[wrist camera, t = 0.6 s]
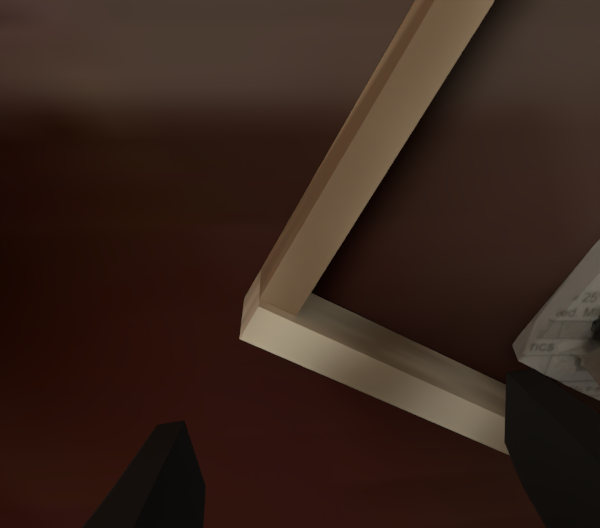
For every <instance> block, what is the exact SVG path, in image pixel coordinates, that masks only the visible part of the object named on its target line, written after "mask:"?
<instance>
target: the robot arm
mask: <svg viewBox="0 0 600 528" xmlns="http://www.w3.org/2000/svg"><path fill="white" fill-rule="evenodd" d="M504 443H505V445H506V448H507V450H508V452H509V455H510V457H511V460H512V462H513V464H514V467H515V469H516V471H517V474H518V476H519V478H520V480H521V483H522V485H523V487H524V489H525V491H526V492H527V494H528V496H529V498H530V500H531V501H532V503H533V505H534V507H535V508H536V510H537V512H538V514H539V516H540V517H541V519H542V521H543V523H544V524H545V526H546V528H600V414H599V413H597V412H596V411H594V410H593V409H591V408H590V407H588V406H587V405H586V404H584V403H583V402H581V401H580V400H578V399H577V398H576V397H574V396H573V395H571V394H570V393H568V392H567V391H566V390H564V389H563V388H561V387H560V386H558V385H557V384H556V383H554V382H553V381H551V380H550V379H549V378H547V377H546V376H544V375H543V374H541V373H540V372H538V371H537V370H535V369H527V370H521V371H514V372H507V373H506V399H505V438H504ZM204 505H205V483H204V480H203V477H202V474H201V471H200V467H199V464H198V461H197V458H196V455H195V452H194V449H193V446H192V443H191V440H190V437H189V434H188V431H187V427H186V424H185V421H180V422H173V423H166V424H159V425H157V426H156V428H155V429H154V430H153V432H152V433H151V434H150V436H149V437H148V439H147V440H146V441H145V443H144V444H143V446H142V447H141V449H140V450H139V452H138V453H137V454H136V456H135V457H134V459H133V460H132V462H131V463H130V464H129V466H128V467H127V469H126V470H125V471H124V473H123V474H122V476H121V477H120V478H119V480H118V481H117V483H116V484H115V485H114V487H113V488H112V489H111V491H110V492H109V493H108V495H107V496H106V497H105V499H104V500H103V502H102V503H101V504H100V506H99V507H98V508H97V510H96V511H95V512H94V513H93V515H92V516H91V517H90V518H89V520H88V521H87V522H86V523H85V525H84V526H83V527H82V528H203V520H204Z"/></svg>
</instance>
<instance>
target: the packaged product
mask: <svg viewBox="0 0 600 528" xmlns="http://www.w3.org/2000/svg"><path fill="white" fill-rule="evenodd" d="M512 346H513V349H514V351H515V354H516V356H517V359H518V361H519V362H521V363H524V364H525V365H527V366H529V367H531V368H533V369H535V370H537V371H538V372H540V373H542V374H544V375H546V376H549V377H551V378H553V379H556V380H558V381H559V382H561V383H563V384H564V385H566V386H569V387H571V388H573V389H575V390H577V391H579V392H581V393H584V394H586V395H588V396H591V397H593V398H595V399H597V400H599V401H600V239H599V241H598V242H597V243H596V244H595V245H594V246H593V247H592V248H591V250H590V251H589V252H588V253H587V254H586V256H585V257H584V258H583V259H582V260H581V261H580V263H579V264H578V265H577V266H576V267H575V269H574V270H573V271H572V272H571V273H570V275H569V276H568V277H567V278H566V279H565V281H564V282H563V283H562V284H561V285H560V287H559V288H558V289H557V290H556V291H555V293H554V294H553V295H552V296H551V297H550V298H549V300H548V301H547V302H546V303H545V304H544V306H543V307H542V308H541V309H540V310H539V312H538V313H537V314H536V315H535V316H534V318H533V319H532V320H531V321H530V322H529V324H528V325H527V326H526V327H525V328H524V330H523V331H522V332H521V333H520V335H519V336H518V337H517V339H516V340H515V342H514V343H513V344H512Z"/></svg>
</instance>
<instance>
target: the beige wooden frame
mask: <svg viewBox="0 0 600 528" xmlns="http://www.w3.org/2000/svg"><path fill="white" fill-rule="evenodd" d="M494 1H495V0H415V1H414V3H413V5H412V7H411V8H410V10H409V12H408V14H407V15H406V17H405V19H404V21H403V22H402V24H401V26H400V28H399V29H398V31H397V33H396V35H395V36H394V38H393V40H392V42H391V43H390V45H389V47H388V49H387V50H386V52H385V54H384V55H383V57H382V59H381V61H380V62H379V64H378V66H377V68H376V69H375V71H374V73H373V75H372V76H371V78H370V80H369V82H368V83H367V85H366V87H365V89H364V90H363V92H362V94H361V96H360V97H359V99H358V101H357V103H356V104H355V106H354V108H353V110H352V111H351V113H350V115H349V117H348V118H347V120H346V122H345V124H344V125H343V127H342V129H341V130H340V132H339V134H338V136H337V137H336V139H335V141H334V143H333V144H332V146H331V148H330V150H329V151H328V153H327V155H326V157H325V158H324V160H323V162H322V164H321V165H320V167H319V169H318V171H317V172H316V174H315V176H314V178H313V179H312V181H311V183H310V185H309V186H308V188H307V190H306V192H305V193H304V195H303V197H302V198H301V200H300V202H299V204H298V205H297V207H296V209H295V211H294V212H293V214H292V216H291V218H290V219H289V221H288V223H287V225H286V226H285V228H284V230H283V232H282V233H281V235H280V237H279V239H278V240H277V242H276V244H275V246H274V247H273V249H272V251H271V253H270V254H269V256H268V258H267V260H266V261H265V263H264V265H263V267H262V268H261V270H260V272H259V273H258V275H257V277H256V279H255V280H254V282H253V284H252V286H251V287H250V289H249V291H248V293H247V294H246V296H245V298H244V305H243V313H242V322H241V330H240V339H241V340H243V341H246V342H248V343H250V344H253V345H255V346H257V347H259V348H262V349H264V350H266V351H269V352H271V353H273V354H276V355H278V356H280V357H283V358H285V359H287V360H290V361H292V362H294V363H297V364H299V365H301V366H304V367H306V368H308V369H311V370H313V371H315V372H318V373H320V374H322V375H324V376H327V377H329V378H331V379H334V380H336V381H338V382H341V383H343V384H345V385H348V386H350V387H352V388H355V389H357V390H359V391H362V392H364V393H366V394H369V395H371V396H373V397H376V398H378V399H380V400H382V401H385V402H387V403H389V404H392V405H394V406H396V407H399V408H401V409H403V410H406V411H408V412H410V413H413V414H415V415H417V416H420V417H422V418H424V419H427V420H429V421H431V422H434V423H436V424H438V425H440V426H443V427H445V428H447V429H450V430H452V431H454V432H457V433H459V434H461V435H464V436H466V437H468V438H471V439H473V440H475V441H478V442H480V443H482V444H485V445H487V446H489V447H492V448H494V449H496V450H498V451H501V452H503V453H505V454H508V455H509V452H508V450H507V448H506V445H505V443H504V438H505V399H506V385H505V384H503V383H501V382H499V381H497V380H495V379H493V378H490V377H488V376H486V375H484V374H482V373H480V372H478V371H476V370H473V369H471V368H469V367H467V366H465V365H463V364H461V363H459V362H457V361H454V360H452V359H450V358H448V357H446V356H444V355H442V354H440V353H438V352H435V351H433V350H431V349H429V348H427V347H425V346H423V345H421V344H418V343H416V342H414V341H412V340H410V339H408V338H406V337H404V336H402V335H399V334H397V333H395V332H393V331H391V330H389V329H387V328H385V327H382V326H380V325H378V324H376V323H374V322H372V321H370V320H368V319H366V318H363V317H361V316H359V315H357V314H355V313H353V312H351V311H349V310H346V309H344V308H342V307H340V306H338V305H336V304H334V303H332V302H330V301H327V300H325V299H323V298H321V297H319V296H317V295H315V294H313V293H311V292H312V290H313V289H314V287H315V285H316V284H317V282H318V281H319V279H320V277H321V276H322V274H323V273H324V271H325V269H326V268H327V266H328V265H329V263H330V261H331V260H332V258H333V257H334V255H335V254H336V252H337V250H338V249H339V247H340V246H341V244H342V242H343V241H344V239H345V238H346V236H347V234H348V233H349V231H350V230H351V228H352V227H353V225H354V223H355V222H356V220H357V219H358V217H359V215H360V214H361V212H362V211H363V209H364V207H365V206H366V204H367V203H368V201H369V200H370V198H371V196H372V195H373V193H374V192H375V190H376V188H377V187H378V185H379V184H380V182H381V180H382V179H383V177H384V176H385V174H386V173H387V171H388V169H389V168H390V166H391V165H392V163H393V161H394V160H395V158H396V157H397V155H398V153H399V152H400V150H401V149H402V147H403V146H404V144H405V142H406V141H407V139H408V138H409V136H410V134H411V133H412V131H413V130H414V128H415V126H416V125H417V123H418V122H419V120H420V119H421V117H422V115H423V114H424V112H425V111H426V109H427V107H428V106H429V104H430V103H431V101H432V99H433V98H434V96H435V95H436V93H437V92H438V90H439V88H440V87H441V85H442V84H443V82H444V80H445V79H446V77H447V76H448V74H449V72H450V71H451V69H452V68H453V66H454V65H455V63H456V61H457V60H458V58H459V57H460V55H461V53H462V52H463V50H464V49H465V47H466V45H467V44H468V42H469V41H470V39H471V37H472V36H473V34H474V33H475V31H476V30H477V28H478V26H479V25H480V23H481V22H482V20H483V18H484V17H485V15H486V14H487V12H488V10H489V9H490V7H491V6H492V4H493V3H494Z"/></svg>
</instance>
